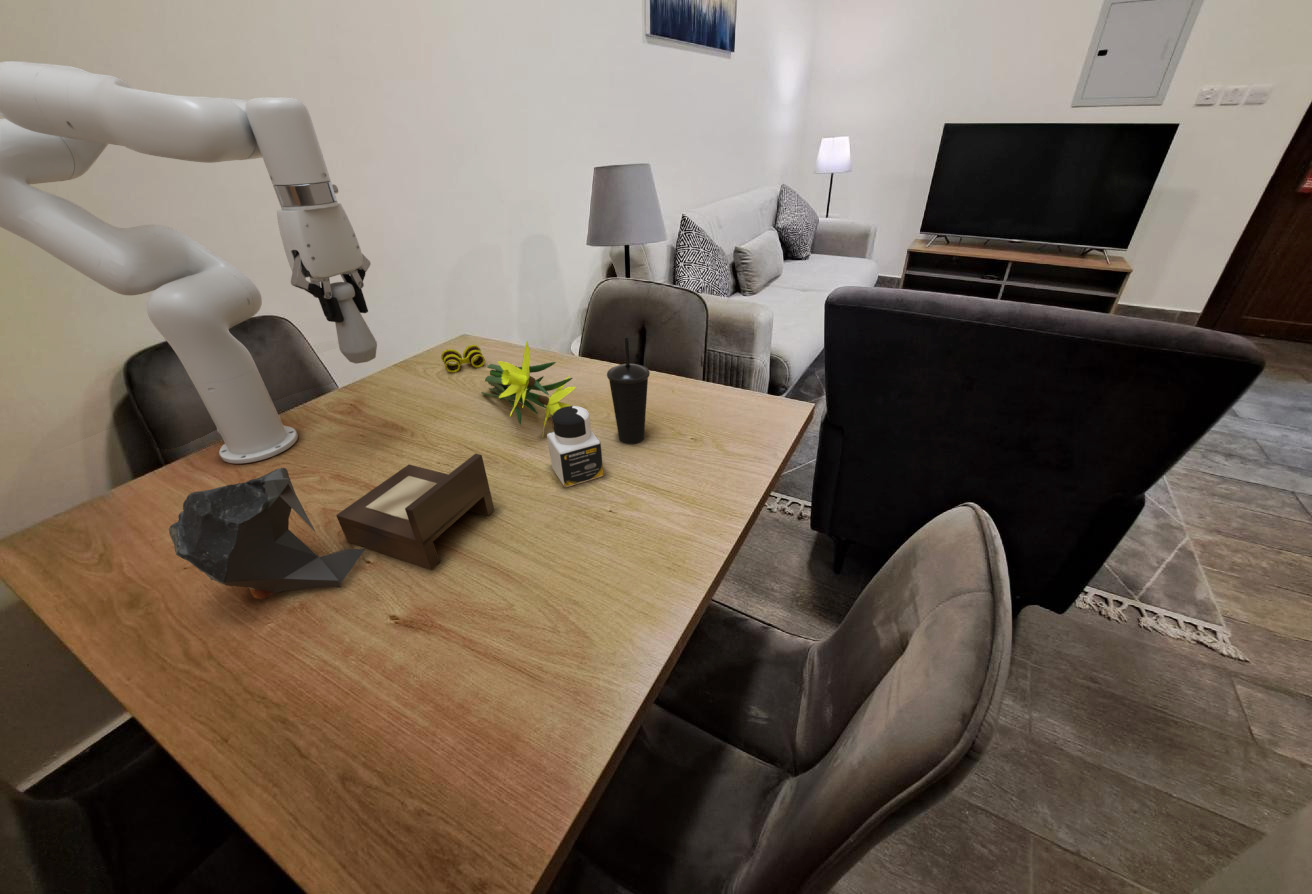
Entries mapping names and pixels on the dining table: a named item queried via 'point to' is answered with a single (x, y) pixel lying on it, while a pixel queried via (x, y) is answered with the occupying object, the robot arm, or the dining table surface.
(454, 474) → the dark wooden box
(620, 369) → the drinking cup
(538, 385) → the daffodil flowers
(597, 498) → the dining table surface
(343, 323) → the salt shaker
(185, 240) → the robot arm
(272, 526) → the dark grey irregular lump
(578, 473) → the medicine bottle
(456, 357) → the opera glasses
